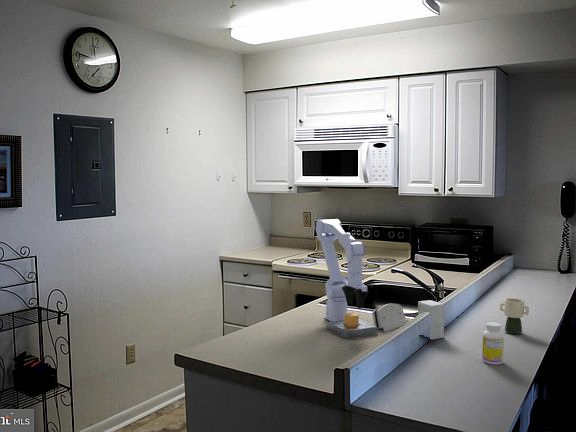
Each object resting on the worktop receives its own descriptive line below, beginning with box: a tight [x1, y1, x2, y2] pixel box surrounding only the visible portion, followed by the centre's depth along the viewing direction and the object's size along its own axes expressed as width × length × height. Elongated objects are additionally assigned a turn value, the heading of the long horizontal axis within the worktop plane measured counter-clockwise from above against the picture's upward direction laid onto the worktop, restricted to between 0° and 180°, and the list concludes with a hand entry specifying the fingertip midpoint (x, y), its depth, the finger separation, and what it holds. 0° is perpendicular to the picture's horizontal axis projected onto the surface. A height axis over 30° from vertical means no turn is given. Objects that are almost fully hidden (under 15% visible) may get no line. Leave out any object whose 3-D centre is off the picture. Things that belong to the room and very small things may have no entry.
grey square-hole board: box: [327, 318, 378, 340], centre depth 218 cm, size 14×14×3 cm
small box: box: [417, 299, 445, 340], centre depth 212 cm, size 8×6×13 cm
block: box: [344, 312, 360, 327], centre depth 218 cm, size 4×4×7 cm
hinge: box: [371, 303, 410, 332], centre depth 227 cm, size 17×5×10 cm, turn 131°
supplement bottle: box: [481, 321, 505, 366], centre depth 183 cm, size 7×7×13 cm
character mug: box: [499, 297, 530, 334], centre depth 216 cm, size 11×7×13 cm, turn 52°
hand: (354, 305), depth 221 cm, fingers open, 7 cm apart
